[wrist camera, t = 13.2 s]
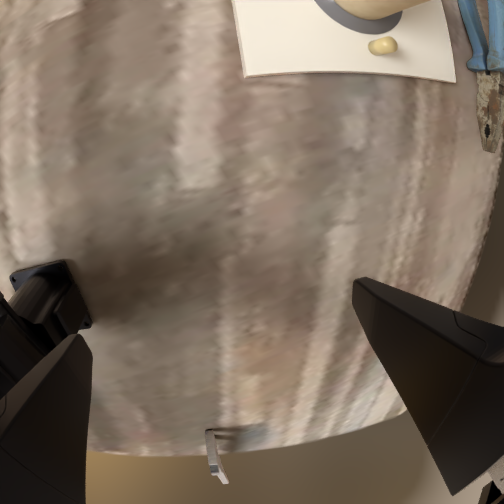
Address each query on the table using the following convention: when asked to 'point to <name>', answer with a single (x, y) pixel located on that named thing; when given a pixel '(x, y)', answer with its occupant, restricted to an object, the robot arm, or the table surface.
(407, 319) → the robot arm
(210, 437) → the caliper
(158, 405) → the table surface
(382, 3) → the candle
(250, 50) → the stud tile
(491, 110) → the pliers
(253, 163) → the table surface
